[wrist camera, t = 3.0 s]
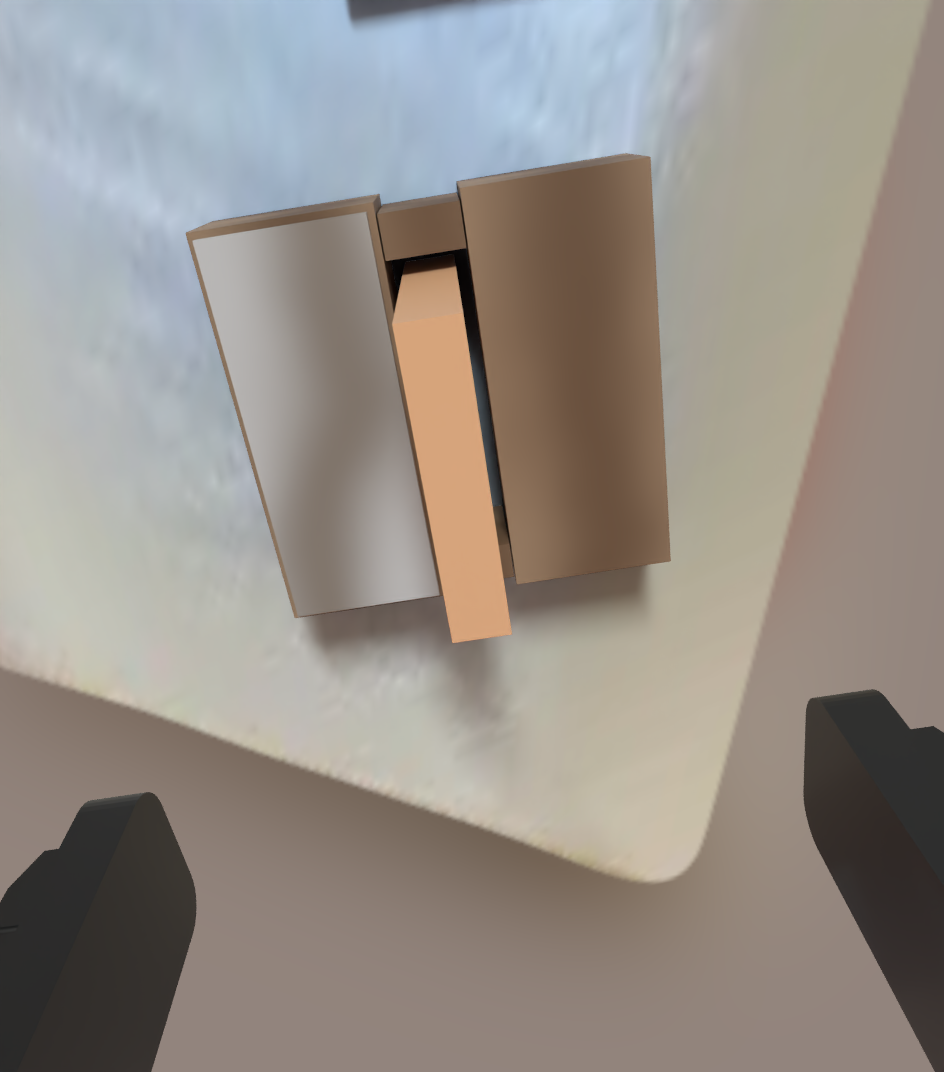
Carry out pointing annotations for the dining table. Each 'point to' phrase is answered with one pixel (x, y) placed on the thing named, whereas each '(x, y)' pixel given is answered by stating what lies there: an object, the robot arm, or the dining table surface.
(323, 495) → the brown slotted wooden block
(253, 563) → the dining table surface
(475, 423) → the peach rectangular slab
